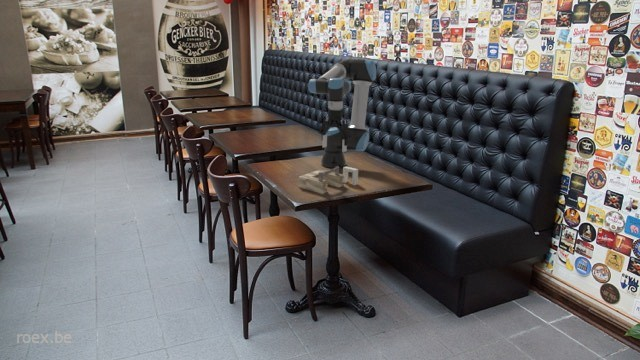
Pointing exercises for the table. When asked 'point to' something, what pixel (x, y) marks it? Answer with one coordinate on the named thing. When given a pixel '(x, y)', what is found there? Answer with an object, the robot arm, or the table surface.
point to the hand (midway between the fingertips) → (334, 149)
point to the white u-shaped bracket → (354, 177)
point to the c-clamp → (321, 180)
